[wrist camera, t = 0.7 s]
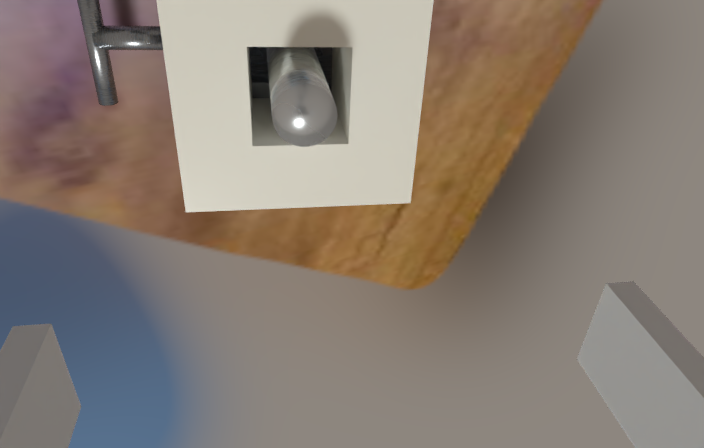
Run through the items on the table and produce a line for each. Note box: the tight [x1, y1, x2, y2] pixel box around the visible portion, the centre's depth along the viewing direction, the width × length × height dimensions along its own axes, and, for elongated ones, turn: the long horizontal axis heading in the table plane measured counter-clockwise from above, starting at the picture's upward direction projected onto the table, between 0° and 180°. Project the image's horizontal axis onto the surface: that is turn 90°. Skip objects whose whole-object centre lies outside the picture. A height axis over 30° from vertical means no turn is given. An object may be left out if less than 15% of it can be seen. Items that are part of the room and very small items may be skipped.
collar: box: [156, 0, 434, 212], centre depth 24 cm, size 10×10×6 cm
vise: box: [77, 0, 337, 147], centre depth 26 cm, size 14×16×15 cm
